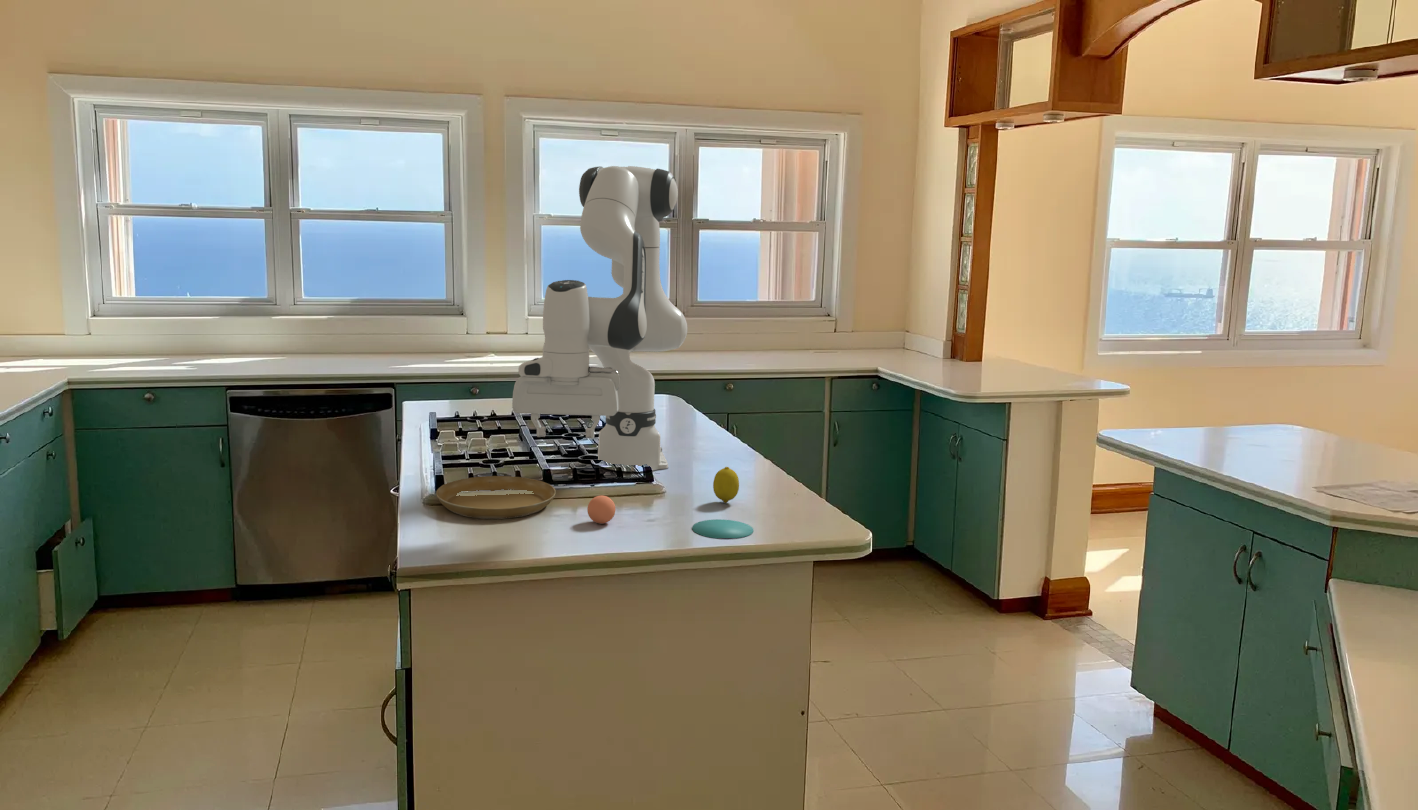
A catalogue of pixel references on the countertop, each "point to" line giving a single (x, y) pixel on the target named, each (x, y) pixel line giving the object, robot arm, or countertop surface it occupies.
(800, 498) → the countertop surface
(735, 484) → the lemon
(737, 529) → the disc
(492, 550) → the countertop surface
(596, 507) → the ball
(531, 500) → the plant saucer
